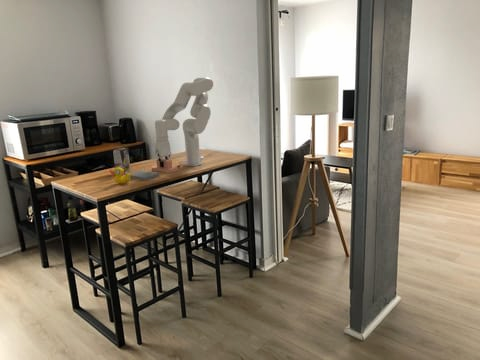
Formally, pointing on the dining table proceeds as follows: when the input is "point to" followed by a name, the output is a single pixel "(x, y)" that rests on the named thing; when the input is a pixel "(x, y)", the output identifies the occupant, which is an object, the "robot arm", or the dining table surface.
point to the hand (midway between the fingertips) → (164, 166)
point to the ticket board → (143, 175)
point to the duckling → (118, 177)
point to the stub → (165, 166)
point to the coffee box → (122, 159)
